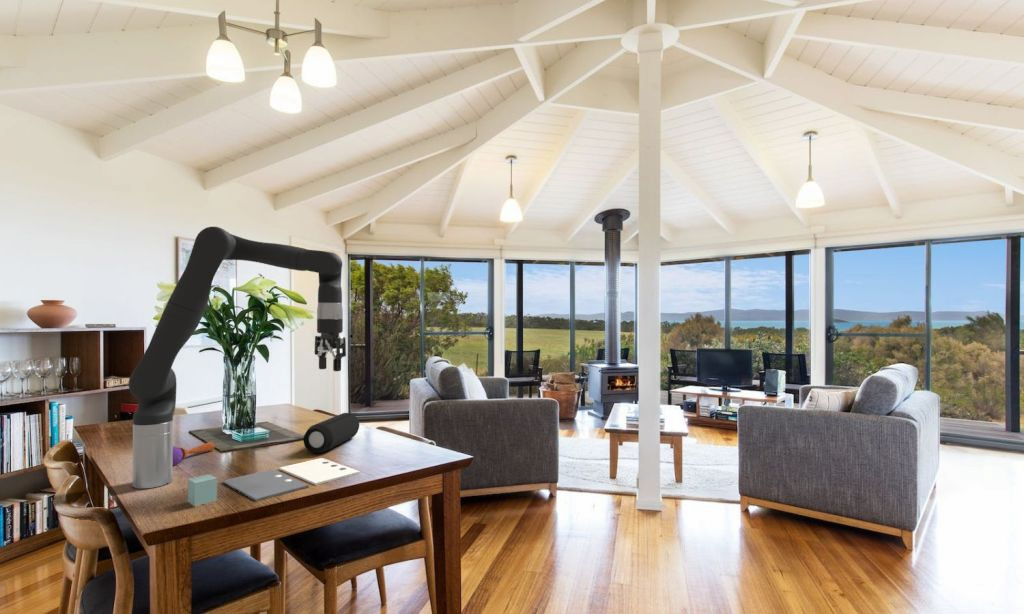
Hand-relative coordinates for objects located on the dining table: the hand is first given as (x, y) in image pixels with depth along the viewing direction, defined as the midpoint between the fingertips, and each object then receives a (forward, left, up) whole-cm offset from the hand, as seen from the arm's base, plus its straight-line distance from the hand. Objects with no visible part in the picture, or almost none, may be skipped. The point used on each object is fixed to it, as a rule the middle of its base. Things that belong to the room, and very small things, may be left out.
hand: (329, 370), depth 159 cm
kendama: (-45, -25, -31) cm, 59 cm away
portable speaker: (-24, +15, -30) cm, 42 cm away
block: (+2, -36, -30) cm, 47 cm away
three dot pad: (+1, -4, -30) cm, 30 cm away
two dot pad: (+1, -20, -30) cm, 36 cm away
